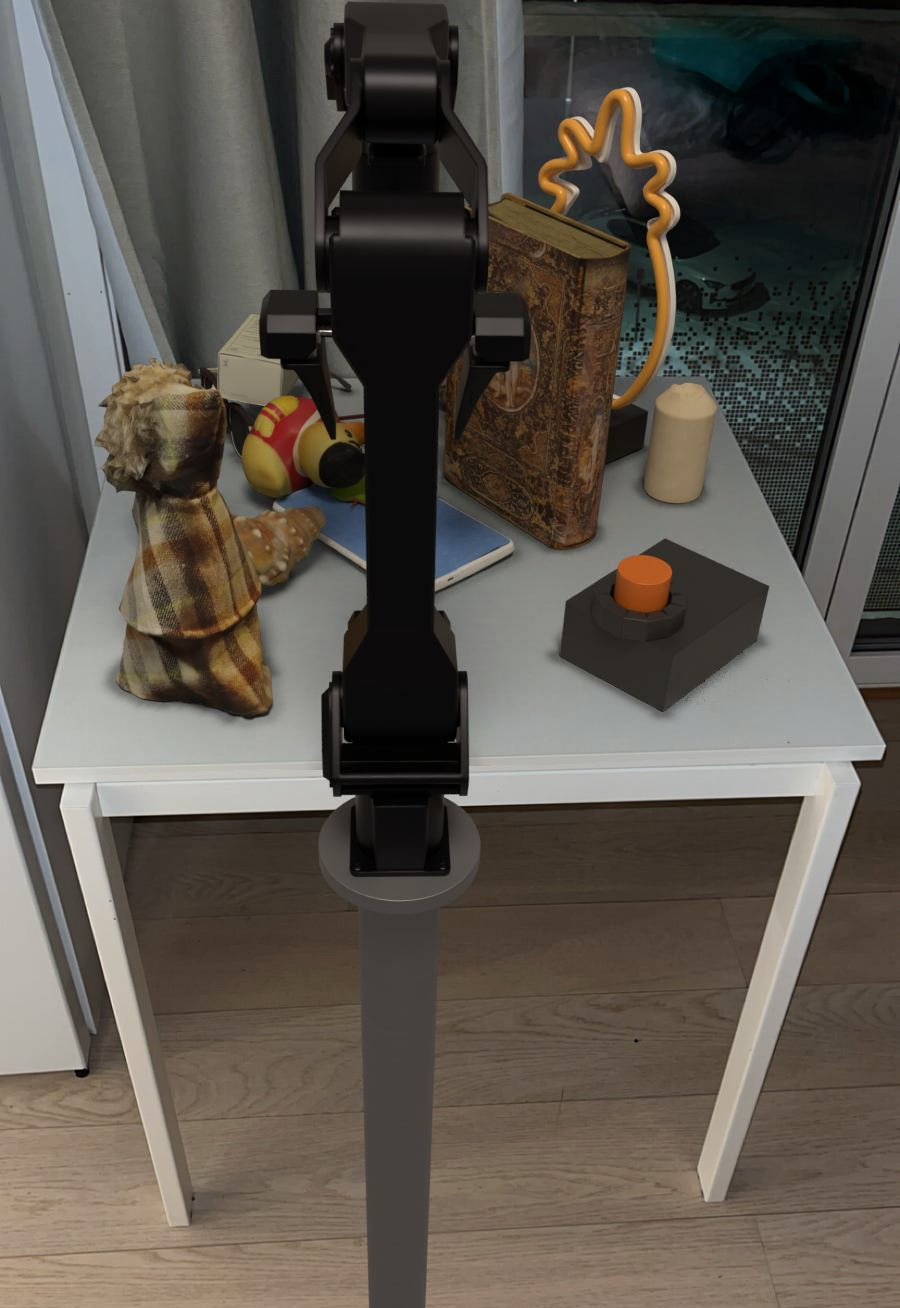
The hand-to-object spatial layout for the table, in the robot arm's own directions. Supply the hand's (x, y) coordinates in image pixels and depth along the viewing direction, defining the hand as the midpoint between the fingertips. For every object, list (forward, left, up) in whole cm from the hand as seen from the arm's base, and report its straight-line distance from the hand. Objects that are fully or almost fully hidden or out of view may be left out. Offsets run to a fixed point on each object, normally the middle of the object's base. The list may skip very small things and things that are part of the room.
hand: (395, 437), depth 96 cm
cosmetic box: (+37, +11, -8) cm, 39 cm away
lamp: (+28, -19, -15) cm, 37 cm away
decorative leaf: (+15, +2, -10) cm, 19 cm away
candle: (+19, -26, -15) cm, 36 cm away
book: (+16, -12, -15) cm, 25 cm away
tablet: (+11, 0, -15) cm, 18 cm away
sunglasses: (+31, +9, -15) cm, 36 cm away
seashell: (+4, +11, -15) cm, 19 cm away
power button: (-9, -18, -8) cm, 22 cm away
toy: (+20, +10, -10) cm, 25 cm away
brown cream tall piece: (-10, +15, -15) cm, 24 cm away
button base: (-6, -21, -15) cm, 26 cm away
